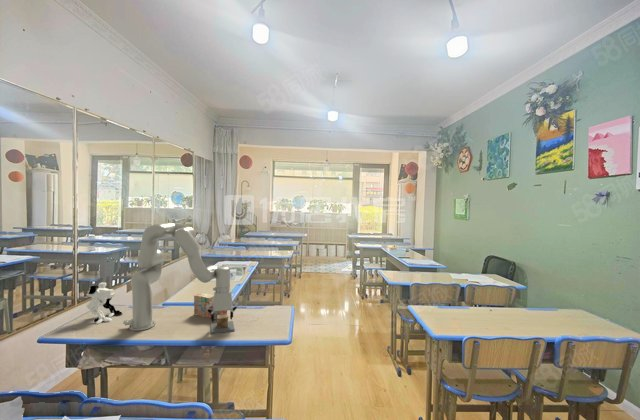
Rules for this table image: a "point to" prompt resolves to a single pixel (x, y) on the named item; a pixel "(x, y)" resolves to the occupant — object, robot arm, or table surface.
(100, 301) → the robot toy
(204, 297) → the stack of blocks
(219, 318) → the walnut cube
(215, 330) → the mat
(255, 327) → the table surface
